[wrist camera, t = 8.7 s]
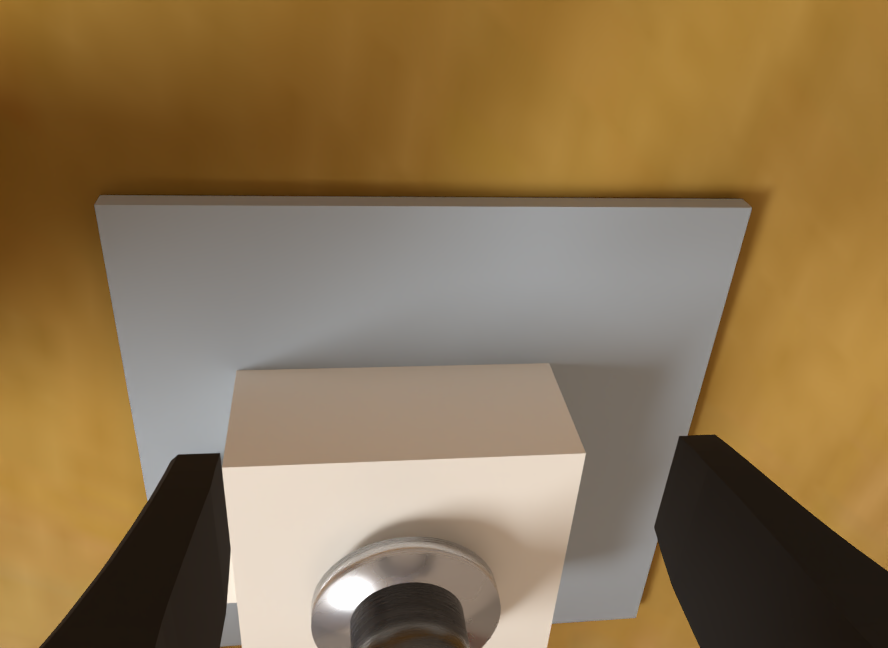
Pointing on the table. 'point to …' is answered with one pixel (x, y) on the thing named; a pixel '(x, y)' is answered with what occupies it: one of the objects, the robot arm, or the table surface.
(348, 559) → the plunger
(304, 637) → the box
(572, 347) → the board
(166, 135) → the table surface
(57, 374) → the table surface
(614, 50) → the table surface
